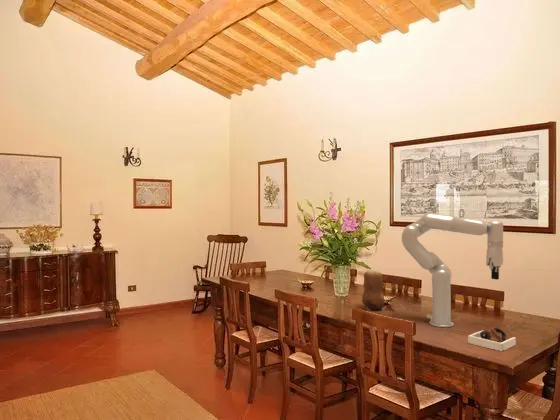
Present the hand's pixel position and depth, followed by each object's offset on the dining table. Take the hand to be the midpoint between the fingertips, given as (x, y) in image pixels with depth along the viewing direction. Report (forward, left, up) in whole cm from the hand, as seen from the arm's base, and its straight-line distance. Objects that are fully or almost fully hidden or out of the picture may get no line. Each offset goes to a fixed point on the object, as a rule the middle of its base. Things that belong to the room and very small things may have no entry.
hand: (495, 279), depth 237 cm
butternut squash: (-71, -13, -27) cm, 77 cm away
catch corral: (+10, -24, -27) cm, 38 cm away
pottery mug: (+9, -22, -27) cm, 37 cm away
